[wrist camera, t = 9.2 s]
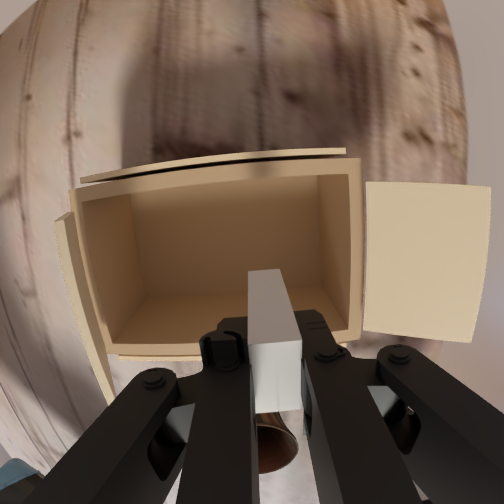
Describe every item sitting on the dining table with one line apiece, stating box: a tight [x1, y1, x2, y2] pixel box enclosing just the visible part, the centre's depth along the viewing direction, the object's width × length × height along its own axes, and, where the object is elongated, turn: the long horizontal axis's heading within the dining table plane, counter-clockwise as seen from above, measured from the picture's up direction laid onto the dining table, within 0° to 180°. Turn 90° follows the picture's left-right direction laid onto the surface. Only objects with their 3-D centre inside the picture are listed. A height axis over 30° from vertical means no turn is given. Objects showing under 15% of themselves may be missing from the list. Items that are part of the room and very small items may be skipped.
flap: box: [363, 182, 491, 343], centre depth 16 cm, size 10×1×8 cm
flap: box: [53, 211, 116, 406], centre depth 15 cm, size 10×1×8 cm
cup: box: [256, 412, 298, 474], centre depth 30 cm, size 9×9×10 cm
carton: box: [69, 148, 364, 361], centre depth 24 cm, size 20×14×10 cm
